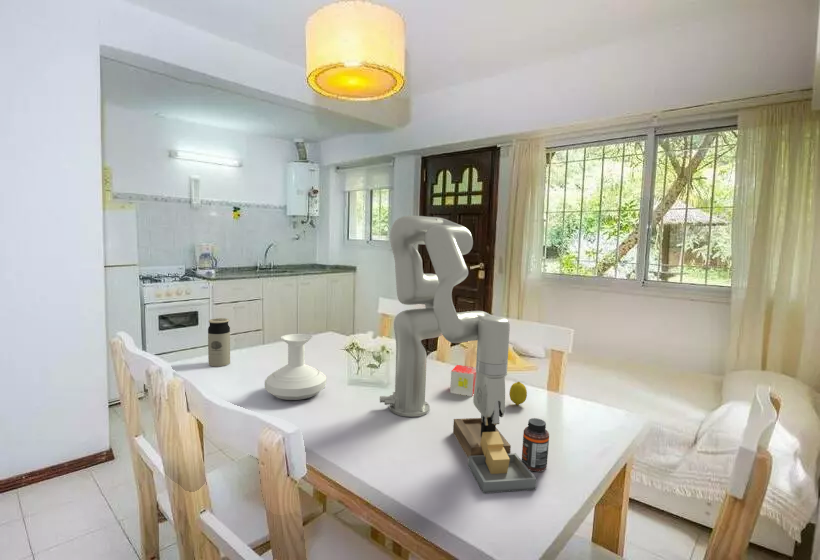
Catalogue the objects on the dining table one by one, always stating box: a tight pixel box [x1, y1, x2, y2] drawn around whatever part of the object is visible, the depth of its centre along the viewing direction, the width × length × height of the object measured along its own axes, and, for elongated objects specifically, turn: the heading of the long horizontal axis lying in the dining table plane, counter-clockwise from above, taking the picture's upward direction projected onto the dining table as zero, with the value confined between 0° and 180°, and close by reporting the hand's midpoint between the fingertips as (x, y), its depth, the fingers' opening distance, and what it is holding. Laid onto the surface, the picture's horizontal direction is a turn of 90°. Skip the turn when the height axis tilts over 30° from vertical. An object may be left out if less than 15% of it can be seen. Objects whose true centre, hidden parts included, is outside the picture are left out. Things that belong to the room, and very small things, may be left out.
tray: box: [467, 452, 537, 494], centre depth 98 cm, size 12×11×2 cm
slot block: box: [452, 417, 512, 459], centre depth 112 cm, size 10×16×4 cm, turn 10°
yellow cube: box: [480, 431, 504, 457], centre depth 103 cm, size 4×4×4 cm
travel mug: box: [207, 317, 231, 368], centre depth 170 cm, size 8×8×18 cm
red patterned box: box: [449, 364, 476, 397], centre depth 151 cm, size 8×8×8 cm
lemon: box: [509, 381, 528, 406], centre depth 140 cm, size 6×6×8 cm
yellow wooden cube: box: [485, 447, 510, 474], centre depth 100 cm, size 4×4×4 cm
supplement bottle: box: [521, 417, 550, 473], centre depth 103 cm, size 6×6×11 cm
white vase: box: [264, 333, 327, 401], centre depth 143 cm, size 20×20×19 cm
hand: (487, 438), depth 107 cm, fingers closed
